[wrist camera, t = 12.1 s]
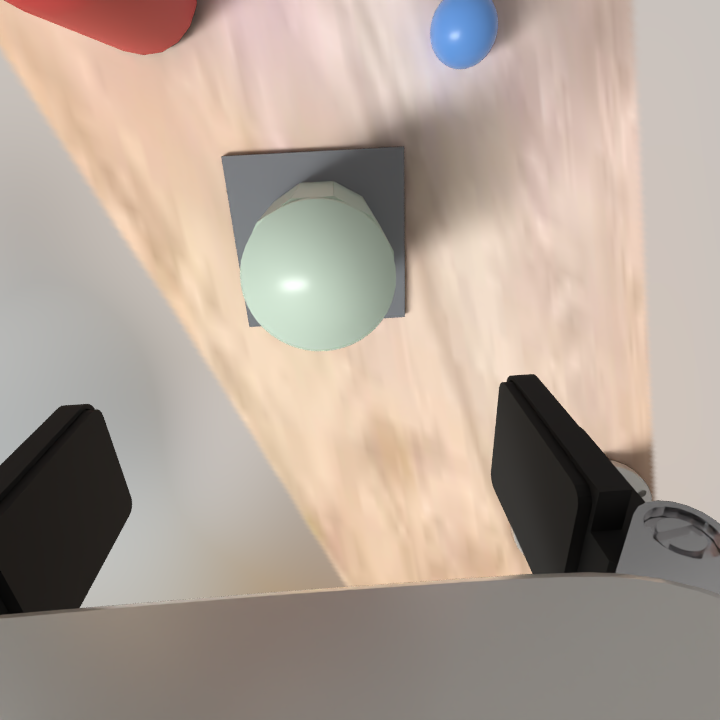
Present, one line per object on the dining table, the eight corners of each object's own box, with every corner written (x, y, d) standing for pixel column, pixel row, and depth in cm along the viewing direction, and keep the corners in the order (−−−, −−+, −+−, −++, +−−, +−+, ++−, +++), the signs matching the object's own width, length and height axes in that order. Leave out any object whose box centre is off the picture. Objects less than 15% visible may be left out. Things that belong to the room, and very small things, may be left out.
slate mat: (404, 314, 33) (404, 316, 33) (250, 324, 33) (249, 326, 32) (403, 146, 28) (404, 146, 28) (222, 156, 28) (221, 156, 28)
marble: (484, 71, 27) (504, 63, 24) (424, 74, 27) (436, 66, 24) (488, -4, 25) (511, -24, 22) (425, -1, 25) (438, -21, 22)
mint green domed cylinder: (381, 295, 32) (397, 346, 24) (271, 302, 32) (252, 355, 24) (377, 178, 29) (395, 194, 21) (254, 185, 28) (227, 204, 21)
